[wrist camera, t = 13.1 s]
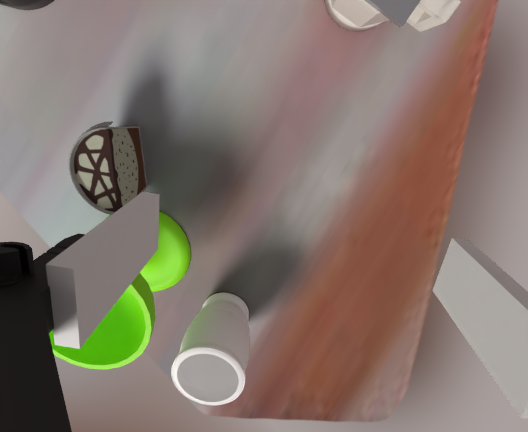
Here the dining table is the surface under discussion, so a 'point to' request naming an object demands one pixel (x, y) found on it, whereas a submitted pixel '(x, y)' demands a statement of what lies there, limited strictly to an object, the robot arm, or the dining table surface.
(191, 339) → the jar
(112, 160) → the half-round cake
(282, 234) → the dining table surface
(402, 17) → the press pot
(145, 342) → the wineglass
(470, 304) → the robot arm
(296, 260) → the dining table surface
